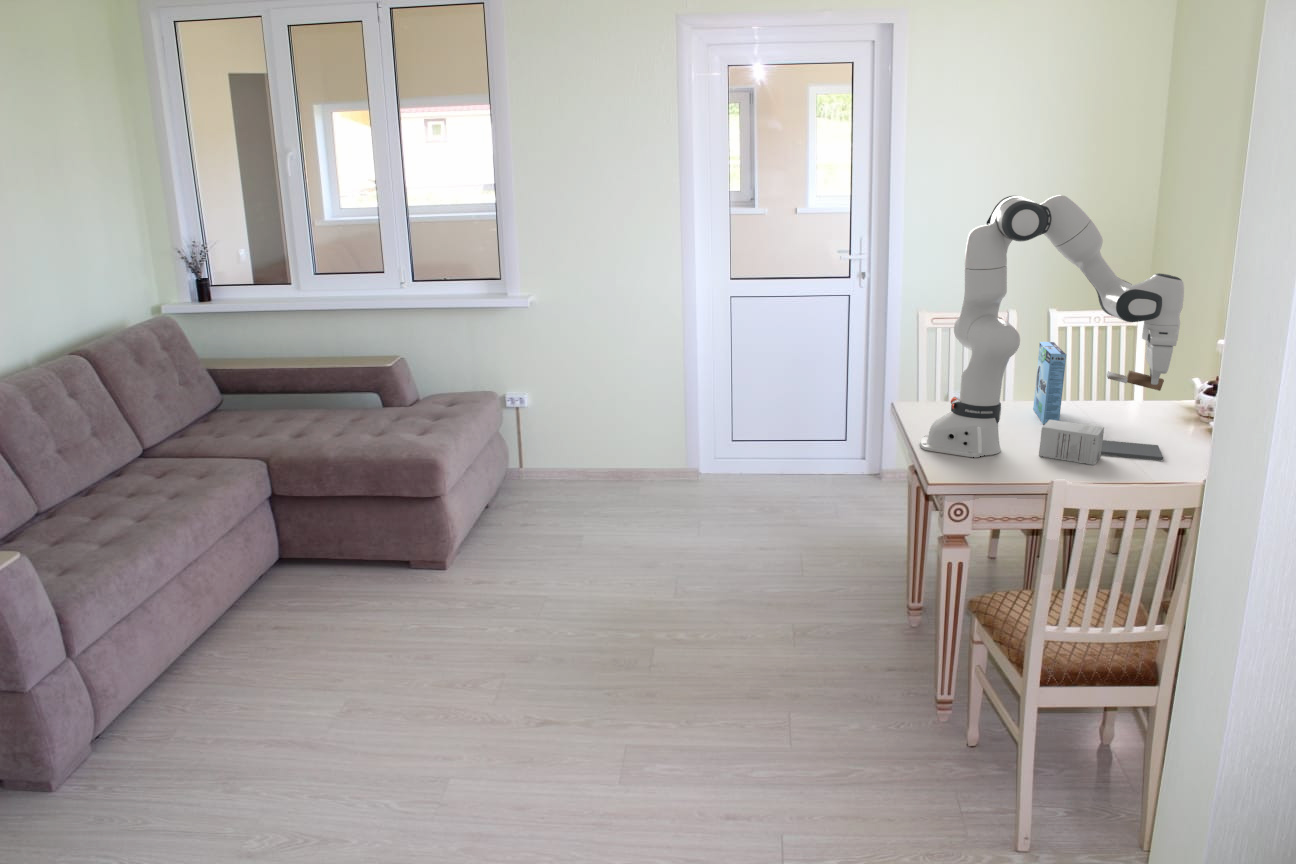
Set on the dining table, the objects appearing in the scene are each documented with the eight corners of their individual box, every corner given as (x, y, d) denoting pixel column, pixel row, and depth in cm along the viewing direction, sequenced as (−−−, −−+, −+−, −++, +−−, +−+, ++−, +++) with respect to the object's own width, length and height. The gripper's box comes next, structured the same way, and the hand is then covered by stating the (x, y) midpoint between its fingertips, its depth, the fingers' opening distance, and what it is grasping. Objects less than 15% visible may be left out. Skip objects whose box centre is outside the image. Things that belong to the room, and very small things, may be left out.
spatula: (1107, 378, 277) (1111, 368, 276) (1106, 374, 282) (1110, 364, 281) (1160, 392, 273) (1164, 381, 272) (1158, 387, 278) (1162, 377, 277)
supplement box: (1101, 456, 280) (1045, 447, 288) (1105, 426, 277) (1049, 418, 285) (1094, 466, 273) (1037, 456, 281) (1098, 435, 270) (1041, 426, 278)
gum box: (1058, 425, 311) (1067, 354, 304) (1041, 424, 312) (1050, 353, 305) (1047, 409, 329) (1055, 341, 322) (1031, 408, 330) (1039, 341, 323)
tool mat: (1085, 453, 284) (1085, 449, 283) (1082, 441, 294) (1083, 438, 294) (1162, 460, 277) (1163, 457, 277) (1157, 448, 288) (1158, 445, 288)
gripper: (1144, 326, 282) (1137, 373, 286) (1151, 339, 264) (1144, 390, 268) (1168, 327, 280) (1161, 375, 284) (1177, 341, 262) (1170, 391, 266)
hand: (1153, 382), depth 276 cm, fingers closed on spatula, 2 cm apart
